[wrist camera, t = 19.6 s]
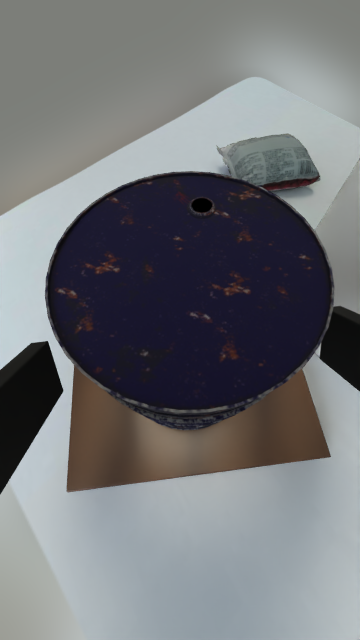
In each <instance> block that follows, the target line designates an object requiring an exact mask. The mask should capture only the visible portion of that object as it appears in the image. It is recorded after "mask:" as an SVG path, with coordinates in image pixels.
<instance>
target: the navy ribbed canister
mask: <svg viewBox="0 0 360 640" xmlns="http://www.w3.org/2000/svg"><path fill="white" fill-rule="evenodd" d="M45 300H46V307H47V314H48V318H49V321H50V324H51V327H52V330H53V333H54V335H55V338H56V339H57V341H58V343H59V344H60V346H61V348H62V349H63V351H64V353H65V354H66V356H67V357H68V358H69V359H70V360H71V361H72V363H73V364H74V365H75V366H76V367H77V368H78V369H79V370H80V372H81V373H82V374H84V375H85V376H86V377H88V378H89V379H90V380H91V381H93V382H94V383H95V384H97V385H98V386H99V387H100V388H102V389H103V390H105V391H106V392H107V393H108V394H110V395H111V396H112V397H114V398H115V399H116V400H117V401H119V402H120V403H121V404H123V405H125V406H127V407H129V408H130V409H132V410H133V411H135V412H137V413H139V414H141V415H143V416H144V417H146V418H148V419H150V420H152V421H154V422H156V423H158V424H160V425H162V426H165V427H168V428H171V429H178V430H197V429H202V428H207V427H209V426H212V425H214V424H217V423H219V422H220V421H222V420H225V419H227V418H230V417H232V416H235V415H236V414H238V413H240V412H242V411H244V410H246V409H247V408H249V407H251V406H252V405H254V404H255V403H257V402H259V401H260V400H262V399H263V398H264V397H265V396H266V395H268V394H269V393H270V392H271V391H273V390H275V389H276V388H278V387H280V386H281V385H283V384H284V383H286V382H287V381H288V380H289V379H290V378H292V377H293V376H294V375H295V374H296V373H297V372H298V371H299V370H301V369H302V368H303V367H304V366H305V365H306V363H307V362H308V361H309V359H310V358H311V357H312V355H313V354H314V353H315V351H316V350H317V349H318V347H319V346H320V343H321V341H322V339H323V337H324V335H325V333H326V331H327V329H328V327H329V323H330V319H331V315H332V311H333V307H334V280H333V273H332V267H331V264H330V261H329V258H328V256H327V253H326V250H325V248H324V246H323V244H322V243H321V241H320V239H319V237H318V235H317V233H316V232H315V231H314V230H313V228H312V227H311V226H310V224H309V223H308V222H307V221H306V219H305V218H304V217H303V216H302V215H301V214H299V213H298V212H297V211H296V210H295V209H294V208H293V207H292V206H291V205H289V204H288V203H287V202H285V201H284V200H283V199H281V198H280V197H278V196H277V195H275V194H273V193H271V192H270V191H268V190H266V189H264V188H262V187H260V186H258V185H255V184H253V183H250V182H248V181H245V180H242V179H239V178H235V177H231V176H228V175H222V174H216V173H210V172H195V171H187V172H171V173H164V174H157V175H153V176H149V177H145V178H141V179H138V180H135V181H133V182H130V183H127V184H125V185H122V186H120V187H118V188H116V189H114V190H112V191H110V192H108V193H106V194H105V195H103V196H102V197H101V198H99V199H98V200H96V201H95V202H93V203H92V204H91V205H89V206H88V207H87V208H86V209H85V210H84V211H83V212H81V213H80V214H79V215H78V216H77V217H76V219H75V220H74V221H73V222H72V223H71V224H70V225H69V227H68V228H67V229H66V231H65V232H64V234H63V235H62V237H61V239H60V240H59V242H58V243H57V246H56V248H55V250H54V253H53V255H52V257H51V260H50V263H49V268H48V272H47V276H46V289H45Z"/></svg>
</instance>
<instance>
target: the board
mask: <svg viewBox="0 0 360 640" xmlns="http://www.w3.org/2000/svg"><path fill="white" fill-rule="evenodd" d="M327 457H331V456H330V453H329V450H328V446H327V443H326V440H325V437H324V434H323V431H322V428H321V425H320V422H319V419H318V416H317V413H316V410H315V407H314V404H313V401H312V398H311V394H310V391H309V388H308V385H307V382H306V379H305V376H304V373H303V370H302V369H301V370H299V371H298V372H297V373H296V374H295V375H294V376H293V377H292V378H290V379H289V380H288V381H287V382H286V383H284V384H283V385H281V386H280V387H278V388H276V389H275V390H273V391H271V392H270V393H269V394H268V395H266V396H265V397H264V398H263V399H262V400H260V401H259V402H257V403H255V404H254V405H252V406H251V407H249V408H247V409H246V410H244V411H242V412H240V413H238V414H236V415H235V416H232V417H230V418H227V419H225V420H222V421H220V422H219V423H217V424H214V425H212V426H209V427H207V428H202V429H197V430H178V429H171V428H168V427H165V426H162V425H160V424H158V423H156V422H154V421H152V420H150V419H148V418H146V417H144V416H143V415H141V414H139V413H137V412H135V411H133V410H132V409H130V408H129V407H127V406H125V405H123V404H121V403H120V402H119V401H117V400H116V399H115V398H114V397H112V396H111V395H110V394H108V393H107V392H106V391H105V390H103V389H102V388H100V387H99V386H98V385H97V384H95V383H94V382H93V381H91V380H90V379H89V378H88V377H86V376H85V375H84V374H82V373H81V372H80V370H79V369H78V368H77V367H76V366H75V365H74V378H73V394H72V411H71V427H70V443H69V460H68V476H67V492H74V491H81V490H89V489H96V488H104V487H111V486H118V485H126V484H133V483H141V482H148V481H156V480H163V479H171V478H178V477H185V476H193V475H200V474H208V473H215V472H223V471H230V470H238V469H245V468H252V467H260V466H267V465H275V464H282V463H290V462H297V461H305V460H312V459H320V458H327Z"/></svg>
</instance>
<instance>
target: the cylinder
mask: <svg viewBox="0 0 360 640" xmlns="http://www.w3.org/2000/svg"><path fill="white" fill-rule="evenodd" d="M315 232H316V233H317V235H318V237H319V239H320V241H321V243H322V244H323V246H324V248H325V250H326V253H327V256H328V258H329V261H330V264H331V267H332V273H333V280H334V306H342V307H344V308H347V309H349V310H351V311H354V312H356V313H358V314H360V159H359V160H358V162H357V163H356V165H355V167H354V168H353V170H352V172H351V173H350V175H349V176H348V178H347V180H346V181H345V183H344V184H343V186H342V188H341V189H340V191H339V192H338V194H337V196H336V197H335V199H334V201H333V202H332V204H331V205H330V207H329V209H328V210H327V212H326V213H325V215H324V217H323V218H322V220H321V222H320V223H319V225H318V226H317V228H316V230H315ZM320 349H321V343H320V346H319V347H318V349H317V350H316V351H315V353H316V354H317V355H318V356H319V357H320Z"/></svg>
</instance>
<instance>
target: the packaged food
mask: <svg viewBox="0 0 360 640" xmlns="http://www.w3.org/2000/svg"><path fill="white" fill-rule="evenodd" d="M217 150H218V152H219V154H221V155H222V156H223V162H224V163H225V165H226V164H227V166H228V168H229V172H230V174H231V176H232V177H235V178H239V179H242V180H245V181H248V182H250V183H253V184H255V185H258V186H260V187H262V188H264V189H266V190H268V191H275V190H282V189H292V188H297V187H302V186H308V185H310V184H312V183H314V182H316V181H319V180H320V178H319V177H320V176H321V175H320V176H319V173H318V171H317V169H316V167H315V165H314V163H313V161H312V160H311V158H310V156H309V154H308V152H307V150H306V148H305V147H304V146H303V145H302V144H301V142H300V141H299V140H298V139H296V138H295V137H294V136H291V135H290V134H281V135H271V136H265V137H261V138H251V139H247V140H243V141H239V142H237V143H232V144H230V145H228V146H226V147H223V148H219V147H218V146H217Z"/></svg>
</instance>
